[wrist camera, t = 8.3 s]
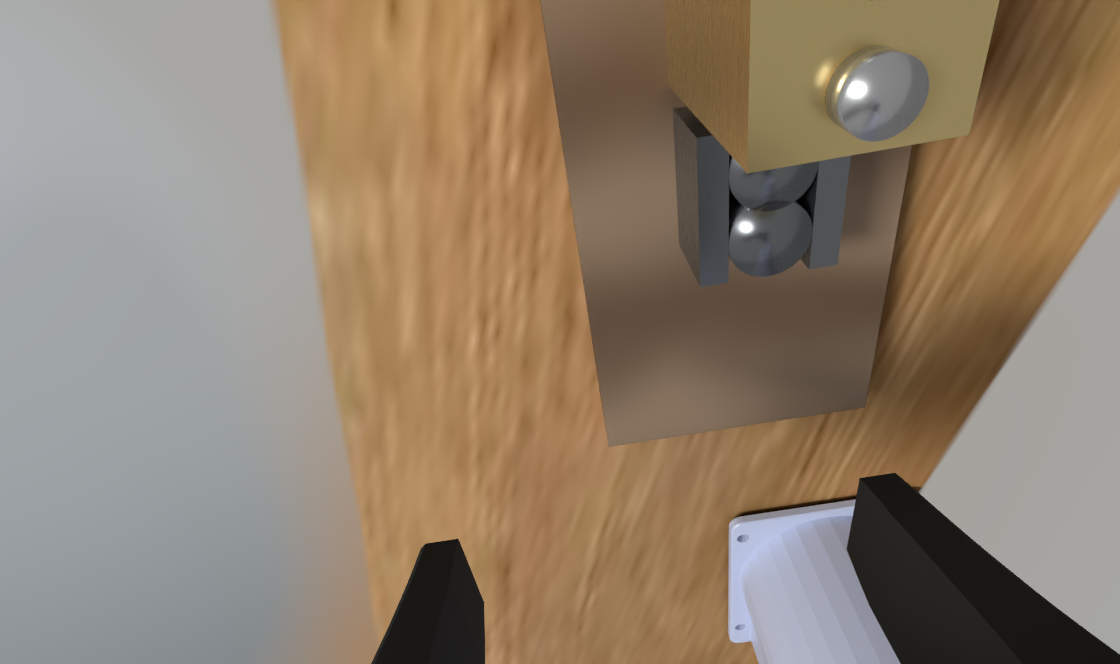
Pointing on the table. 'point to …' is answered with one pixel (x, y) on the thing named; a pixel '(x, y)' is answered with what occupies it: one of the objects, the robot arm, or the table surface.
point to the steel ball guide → (753, 209)
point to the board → (663, 271)
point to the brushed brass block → (827, 73)
